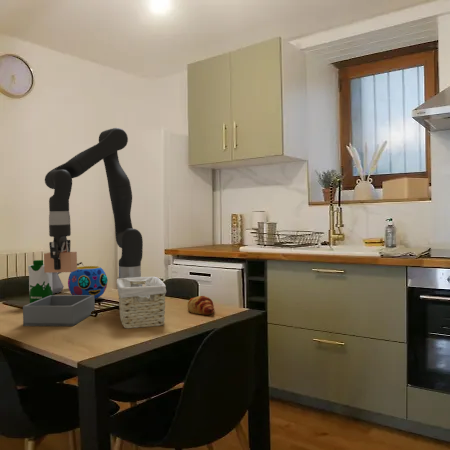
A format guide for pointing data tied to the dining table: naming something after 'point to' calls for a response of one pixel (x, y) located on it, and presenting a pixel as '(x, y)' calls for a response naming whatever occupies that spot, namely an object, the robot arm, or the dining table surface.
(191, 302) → the croissant
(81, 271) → the ceramic pot
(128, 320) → the storage basket
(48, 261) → the small crate
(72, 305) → the big crate
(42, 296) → the milk carton
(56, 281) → the coffee pot
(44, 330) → the dining table surface
